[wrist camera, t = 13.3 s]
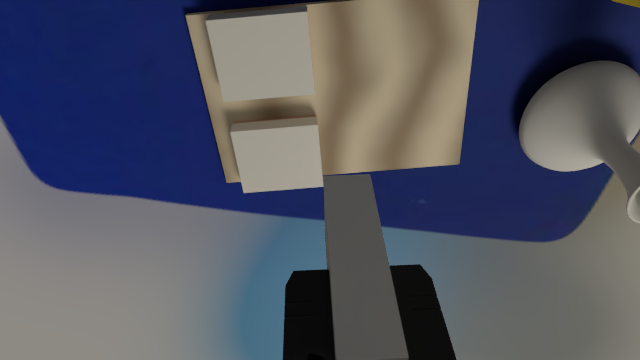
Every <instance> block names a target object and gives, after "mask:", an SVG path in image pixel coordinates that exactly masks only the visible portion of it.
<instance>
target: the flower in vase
mask: <svg viewBox="0 0 640 360" xmlns="http://www.w3.org/2000/svg"><path fill="white" fill-rule="evenodd" d="M639 128H640V76H639V75H638V74H637V73H636V72H635V71H634V70H633V69H632V68H630V67H628V66H627V65H625V64H622V63H619V62H614V61H603V60H602V61H592V62H587V63H583V64H580V65H577V66H574V67H572V68H569V69H567V70H565V71H563V72H561V73H559V74H557V75H556V76H554V77H553V78H551V79H550V80H549V81H548V82H546V83H545V84H544V85H543V86H542V87H541V88H540V89H539V90H538V91H537V92H536V93H535V94H534V96H533V97H532V98H531V100H530V101H529V103H528V105H527V107H526V109H525V111H524V113H523V115H522V118H521V122H520V126H519V140H520V144H521V147H522V149H523V151H524V152H525V154H526V155H527V156H528V157H529V158H530V159H531V160H532V161H533V162H535V163H536V164H538V165H541V166H543V167H545V168H548V169H551V170H556V171H576V170H582V169H586V168H589V167H593V166H596V165H598V164H601V163H603V162H605V163H606V164H607V165H608V166H609V167H610V168H611V169H612V170H613V171H614V173H615V174H616V175H617V176H618V178H619V179H620V180H621V182H622V183H623V185H624V187H625V189H626V191H627V195H628V200H627V205H626V209H627V213H628V216H629V217H630V218H631V219H632V220H634V221H635V222H637V223H640V154H639V153H638V152H637V151H636V150H635V149H633V147H632V146H631V145H630V144H629V143H630V142H631V140H632V139H633V138H634V137H635V135H636V134H637V132H638V130H639Z"/></svg>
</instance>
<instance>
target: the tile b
mask: <svg viewBox="0 0 640 360" xmlns="http://www.w3.org/2000/svg"><path fill="white" fill-rule="evenodd" d="M230 134H231V138H232V143H233V147H234V151H235V156H236V160H237V165H238V169H239V174H240V178H241V183H242V187H243V192H244V193H250V192H262V191H275V190H288V189H300V188H313V187H323V172H322V161H321V151H320V140H319V129H318V118H317V117H316V116H305V117H293V118H281V119H269V120H257V121H245V122H234V123H233V124H232V127H231V131H230Z"/></svg>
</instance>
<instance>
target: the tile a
mask: <svg viewBox="0 0 640 360" xmlns="http://www.w3.org/2000/svg"><path fill="white" fill-rule="evenodd" d="M206 26H207V30H208V35H209V39H210V44H211V48H212V53H213V57H214V61H215V66H216V70H217V75H218V79H219V84H220V88H221V93H222V97H223V102H230V101H242V100H254V99H266V98H277V97H289V96H301V95H313V94H315V85H314V74H313V64H312V53H311V42H310V31H309V20H308V9H307V6H302V7H290V8H279V9H268V10H257V11H246V12H235V13H223V14H212V15H209V16H208V17H207V19H206Z"/></svg>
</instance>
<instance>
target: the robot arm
mask: <svg viewBox="0 0 640 360" xmlns="http://www.w3.org/2000/svg"><path fill="white" fill-rule="evenodd" d="M324 207H325V239H326V240H325V241H326V257H327V270H305V271H293V273H292V275H291V277H290V278H289V280H288V282H287V284H286V289H285V319H284V344H283V360H456V357H455V353H454V350H453V347H452V343H451V340H450V337H449V334H448V331H447V327H446V324H445V321H444V317H443V314H442V311H441V307H440V304H439V301H438V298H437V294H436V291H435V288H434V284H433V281H432V278H431V277H430V276H429V275H428V273H427V272H426V271H425V270H424V269H423V268H422V266H421V265H397V266H389V262H388V257H387V253H386V248H385V244H384V238H383V234H382V229H381V224H380V219H379V215H378V210H377V205H376V201H375V196H374V191H373V186H372V182H371V177H370V174H367V175H342V176H324Z"/></svg>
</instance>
